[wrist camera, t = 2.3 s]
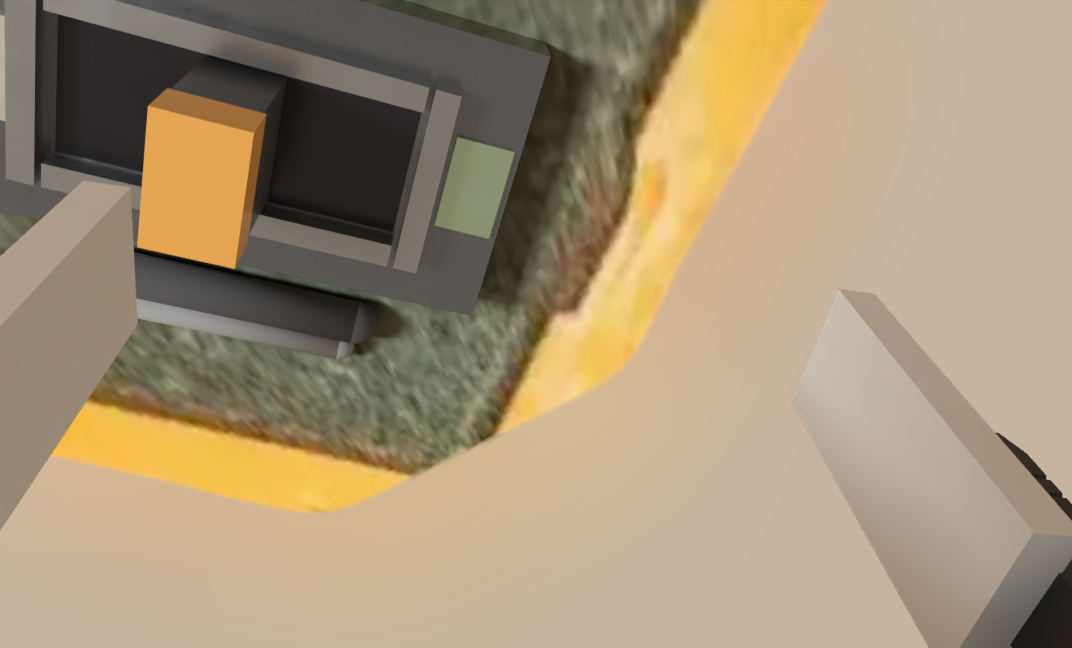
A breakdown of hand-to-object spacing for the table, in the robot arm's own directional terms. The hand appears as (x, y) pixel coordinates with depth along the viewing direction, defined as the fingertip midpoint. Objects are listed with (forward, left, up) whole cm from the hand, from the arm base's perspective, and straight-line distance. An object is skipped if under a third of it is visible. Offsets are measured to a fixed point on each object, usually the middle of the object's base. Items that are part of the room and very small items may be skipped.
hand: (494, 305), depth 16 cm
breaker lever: (-8, -5, -19) cm, 22 cm away
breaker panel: (-8, -5, -22) cm, 24 cm away
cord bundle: (-8, -14, -22) cm, 27 cm away
